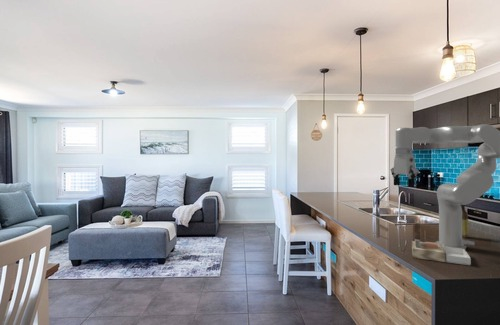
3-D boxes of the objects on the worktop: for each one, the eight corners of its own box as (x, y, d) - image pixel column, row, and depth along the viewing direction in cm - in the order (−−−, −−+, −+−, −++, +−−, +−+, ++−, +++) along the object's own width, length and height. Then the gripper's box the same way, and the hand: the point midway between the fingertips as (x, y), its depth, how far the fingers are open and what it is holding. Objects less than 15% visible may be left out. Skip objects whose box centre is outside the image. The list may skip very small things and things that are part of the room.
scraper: (419, 243, 133) (419, 221, 133) (420, 248, 125) (420, 225, 125) (413, 242, 134) (413, 221, 134) (414, 247, 126) (414, 225, 126)
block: (436, 246, 127) (436, 242, 127) (437, 248, 123) (437, 245, 123) (425, 244, 130) (425, 241, 130) (425, 247, 126) (425, 244, 126)
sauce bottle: (462, 235, 162) (462, 200, 162) (471, 238, 155) (471, 202, 155) (451, 235, 161) (451, 200, 161) (460, 238, 155) (459, 202, 155)
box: (464, 255, 126) (464, 249, 126) (470, 265, 114) (470, 258, 114) (442, 252, 130) (442, 246, 130) (446, 262, 118) (446, 255, 118)
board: (441, 252, 130) (441, 244, 130) (445, 262, 118) (445, 252, 118) (411, 249, 136) (411, 240, 136) (412, 257, 124) (412, 248, 124)
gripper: (424, 151, 134) (423, 187, 134) (397, 153, 151) (397, 184, 151) (410, 151, 133) (410, 187, 133) (385, 152, 150) (385, 184, 150)
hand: (403, 186), depth 142 cm, fingers open, 9 cm apart
